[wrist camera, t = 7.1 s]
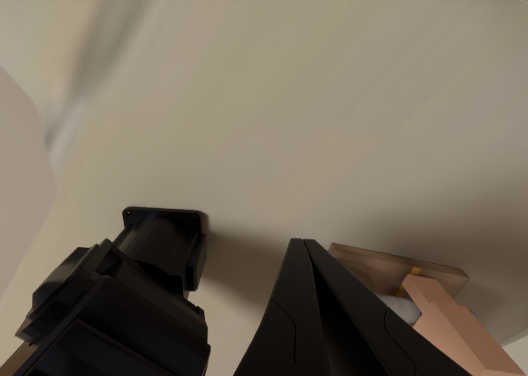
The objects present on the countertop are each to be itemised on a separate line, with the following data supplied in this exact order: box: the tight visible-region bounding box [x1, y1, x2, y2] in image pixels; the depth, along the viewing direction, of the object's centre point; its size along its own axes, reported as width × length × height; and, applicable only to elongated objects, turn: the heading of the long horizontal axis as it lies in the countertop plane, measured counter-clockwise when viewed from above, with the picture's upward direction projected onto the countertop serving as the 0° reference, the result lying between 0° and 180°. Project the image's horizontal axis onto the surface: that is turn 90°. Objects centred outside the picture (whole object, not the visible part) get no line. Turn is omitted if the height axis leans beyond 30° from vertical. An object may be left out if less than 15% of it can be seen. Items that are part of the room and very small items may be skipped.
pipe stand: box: [328, 243, 479, 325], centre depth 24 cm, size 14×6×5 cm, turn 75°
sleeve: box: [402, 274, 526, 376], centre depth 21 cm, size 3×6×8 cm, turn 165°
